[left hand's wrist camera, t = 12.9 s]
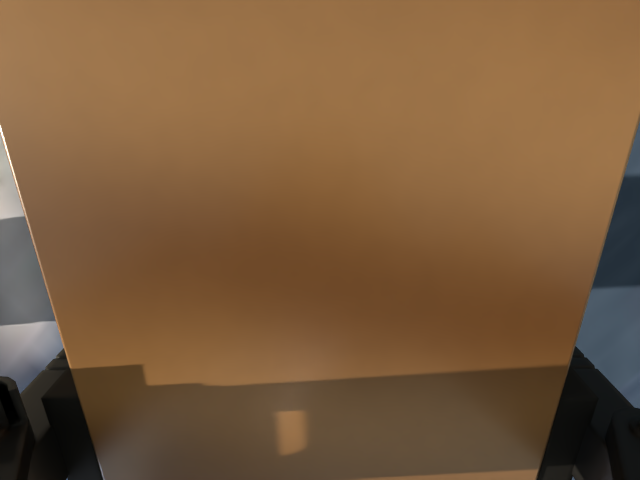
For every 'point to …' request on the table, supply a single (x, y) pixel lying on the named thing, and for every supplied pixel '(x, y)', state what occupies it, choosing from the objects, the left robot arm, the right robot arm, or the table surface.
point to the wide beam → (319, 223)
